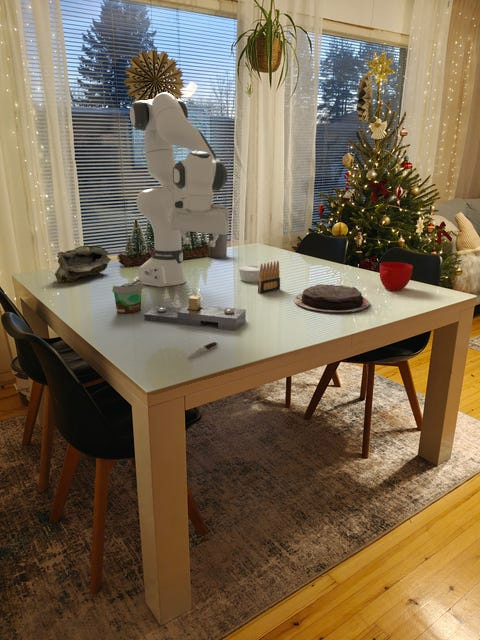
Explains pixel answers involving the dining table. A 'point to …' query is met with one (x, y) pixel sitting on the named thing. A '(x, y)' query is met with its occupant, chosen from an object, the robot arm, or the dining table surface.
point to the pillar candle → (218, 246)
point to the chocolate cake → (332, 299)
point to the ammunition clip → (269, 278)
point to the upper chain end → (216, 316)
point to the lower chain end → (169, 316)
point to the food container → (128, 297)
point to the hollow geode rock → (81, 263)
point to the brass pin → (194, 303)
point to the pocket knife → (203, 349)
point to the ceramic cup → (395, 275)
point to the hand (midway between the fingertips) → (199, 245)
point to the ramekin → (249, 273)
